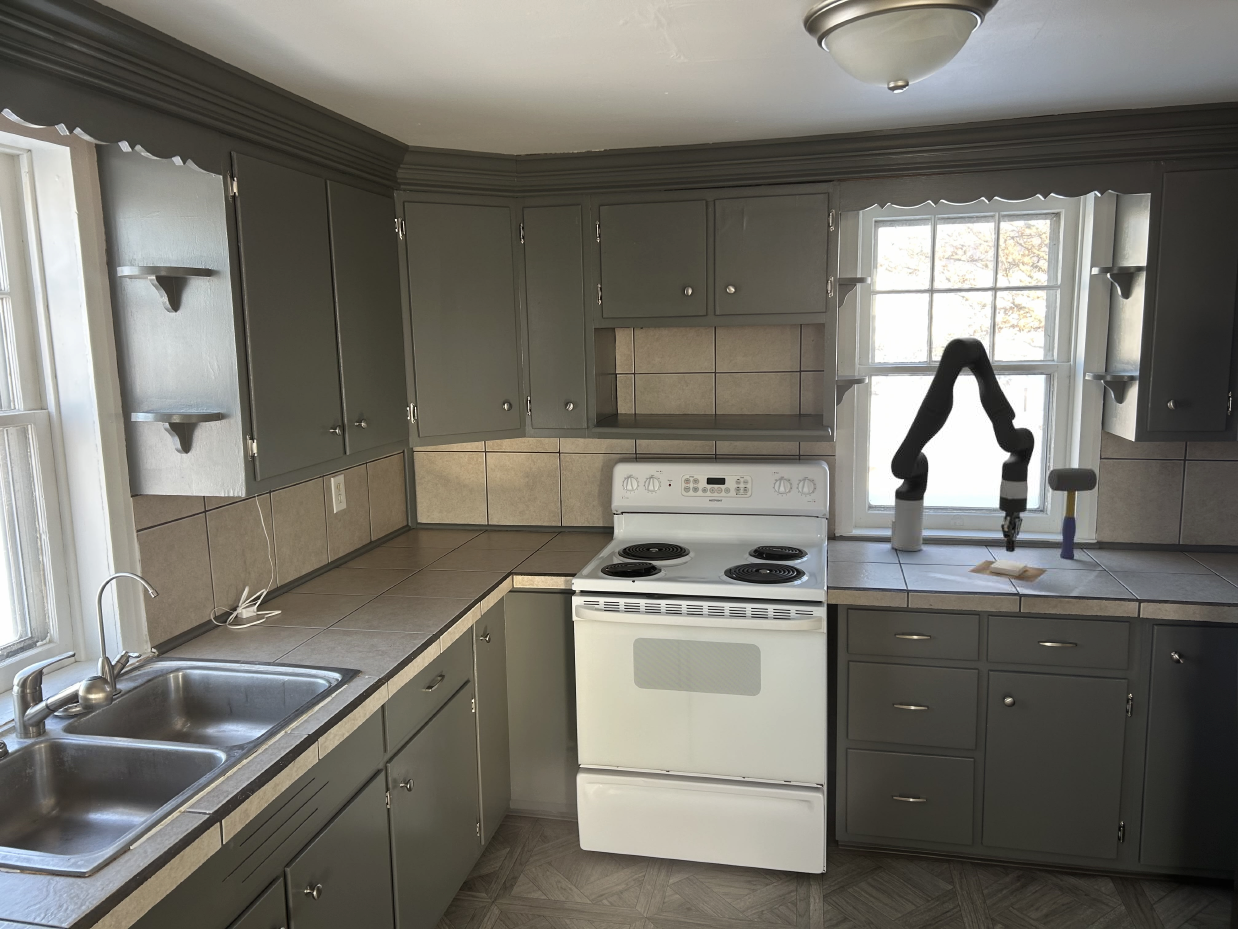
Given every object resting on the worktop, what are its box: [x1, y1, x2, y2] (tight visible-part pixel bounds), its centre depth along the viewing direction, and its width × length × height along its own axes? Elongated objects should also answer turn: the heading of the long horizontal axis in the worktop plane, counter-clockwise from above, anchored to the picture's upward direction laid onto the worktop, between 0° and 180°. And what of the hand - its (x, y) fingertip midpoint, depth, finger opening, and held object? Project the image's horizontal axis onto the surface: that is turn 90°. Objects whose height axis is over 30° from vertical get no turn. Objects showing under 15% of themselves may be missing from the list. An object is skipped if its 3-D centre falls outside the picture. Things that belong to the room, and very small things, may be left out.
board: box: [968, 559, 1048, 583], centre depth 257 cm, size 18×16×1 cm
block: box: [990, 559, 1028, 576], centre depth 257 cm, size 8×2×9 cm
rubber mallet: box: [1047, 467, 1098, 560], centre depth 268 cm, size 12×8×30 cm, turn 88°
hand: (1010, 551), depth 257 cm, fingers closed
